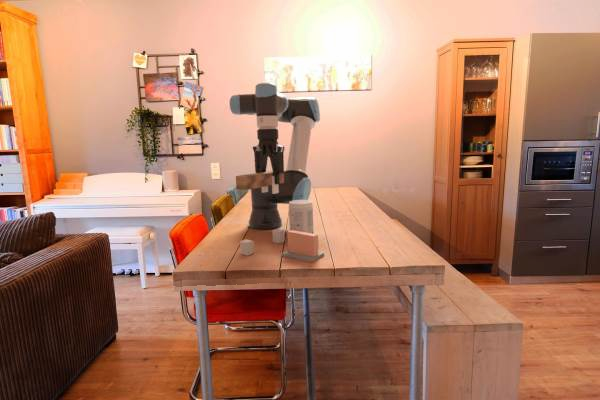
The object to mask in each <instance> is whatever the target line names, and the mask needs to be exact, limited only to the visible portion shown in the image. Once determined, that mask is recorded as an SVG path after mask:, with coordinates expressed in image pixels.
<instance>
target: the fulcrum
mask: <svg viewBox="0 0 600 400" xmlns="http://www.w3.org/2000/svg"><path fill="white" fill-rule="evenodd" d="M286 236H287V250H286V251H283V252H281V257H285V258H289V259H294V260H299V261H302V262H307V263H310V264H311V263H313V262H315V261H316V260H318V259H321V258H322V257H324V256H325V252H322V251H321V252H320V251H319V234H318V233H317V234H316V233H313V234H312V233H306V232H300V231H295V230H291V231H290V230H288V231H287V235H286Z"/></svg>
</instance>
